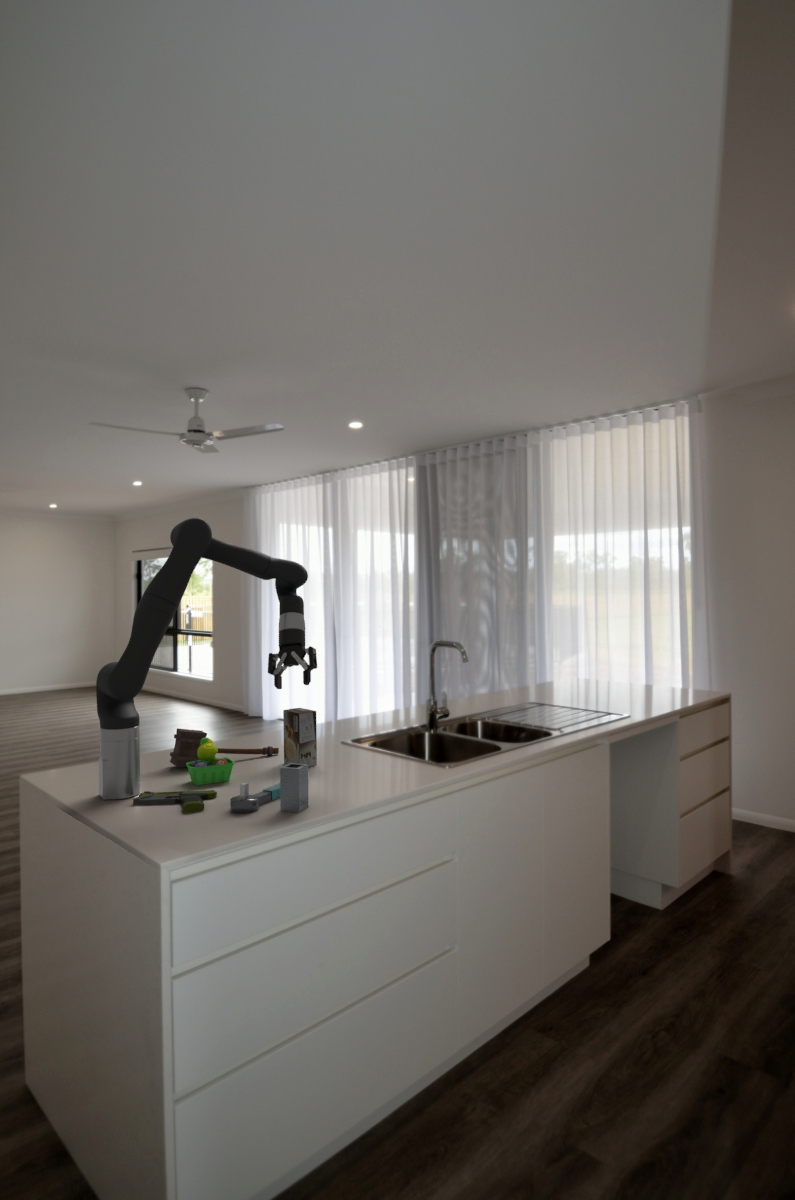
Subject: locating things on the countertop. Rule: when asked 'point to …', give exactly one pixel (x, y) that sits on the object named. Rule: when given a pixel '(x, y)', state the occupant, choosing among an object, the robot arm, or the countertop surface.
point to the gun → (176, 799)
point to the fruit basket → (209, 765)
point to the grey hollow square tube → (294, 787)
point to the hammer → (190, 743)
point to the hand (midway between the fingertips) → (292, 686)
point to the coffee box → (300, 736)
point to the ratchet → (252, 798)
